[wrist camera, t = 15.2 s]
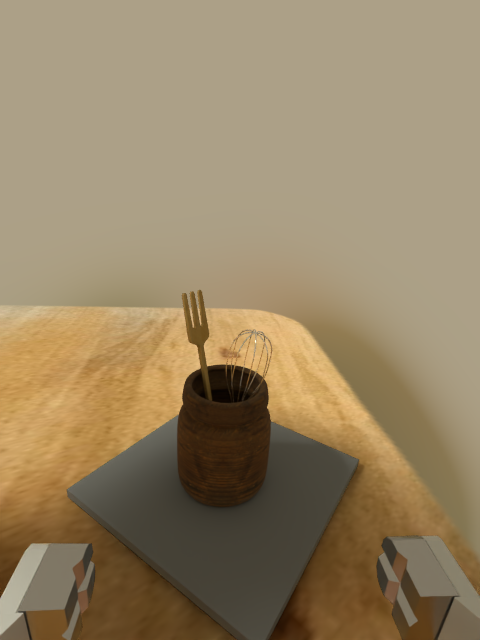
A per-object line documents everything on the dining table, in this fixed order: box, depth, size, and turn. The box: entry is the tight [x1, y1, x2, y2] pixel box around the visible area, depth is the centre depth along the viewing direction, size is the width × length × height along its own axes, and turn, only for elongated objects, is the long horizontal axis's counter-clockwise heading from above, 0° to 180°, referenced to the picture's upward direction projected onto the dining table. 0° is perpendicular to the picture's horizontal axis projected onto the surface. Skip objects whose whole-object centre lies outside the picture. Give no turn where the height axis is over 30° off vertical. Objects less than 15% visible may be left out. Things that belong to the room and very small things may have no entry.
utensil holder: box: [177, 290, 272, 507], centre depth 22 cm, size 6×6×12 cm
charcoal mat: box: [67, 415, 359, 640], centre depth 24 cm, size 14×14×1 cm
